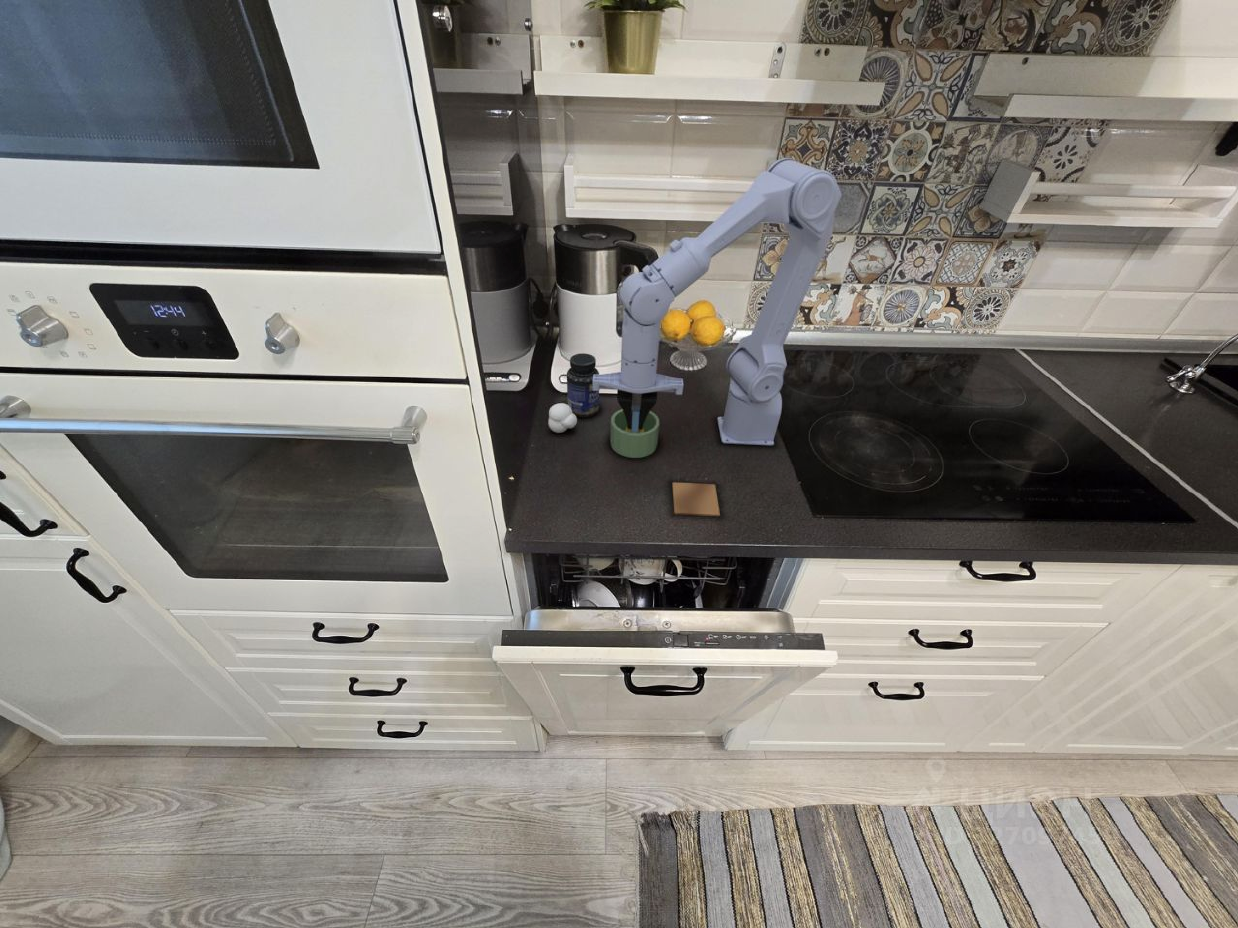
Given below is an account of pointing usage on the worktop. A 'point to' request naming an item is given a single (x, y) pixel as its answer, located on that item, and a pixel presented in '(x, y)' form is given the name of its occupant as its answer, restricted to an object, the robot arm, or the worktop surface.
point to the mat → (695, 499)
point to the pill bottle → (582, 385)
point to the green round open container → (634, 436)
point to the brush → (635, 420)
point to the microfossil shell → (561, 418)
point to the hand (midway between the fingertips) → (635, 426)
